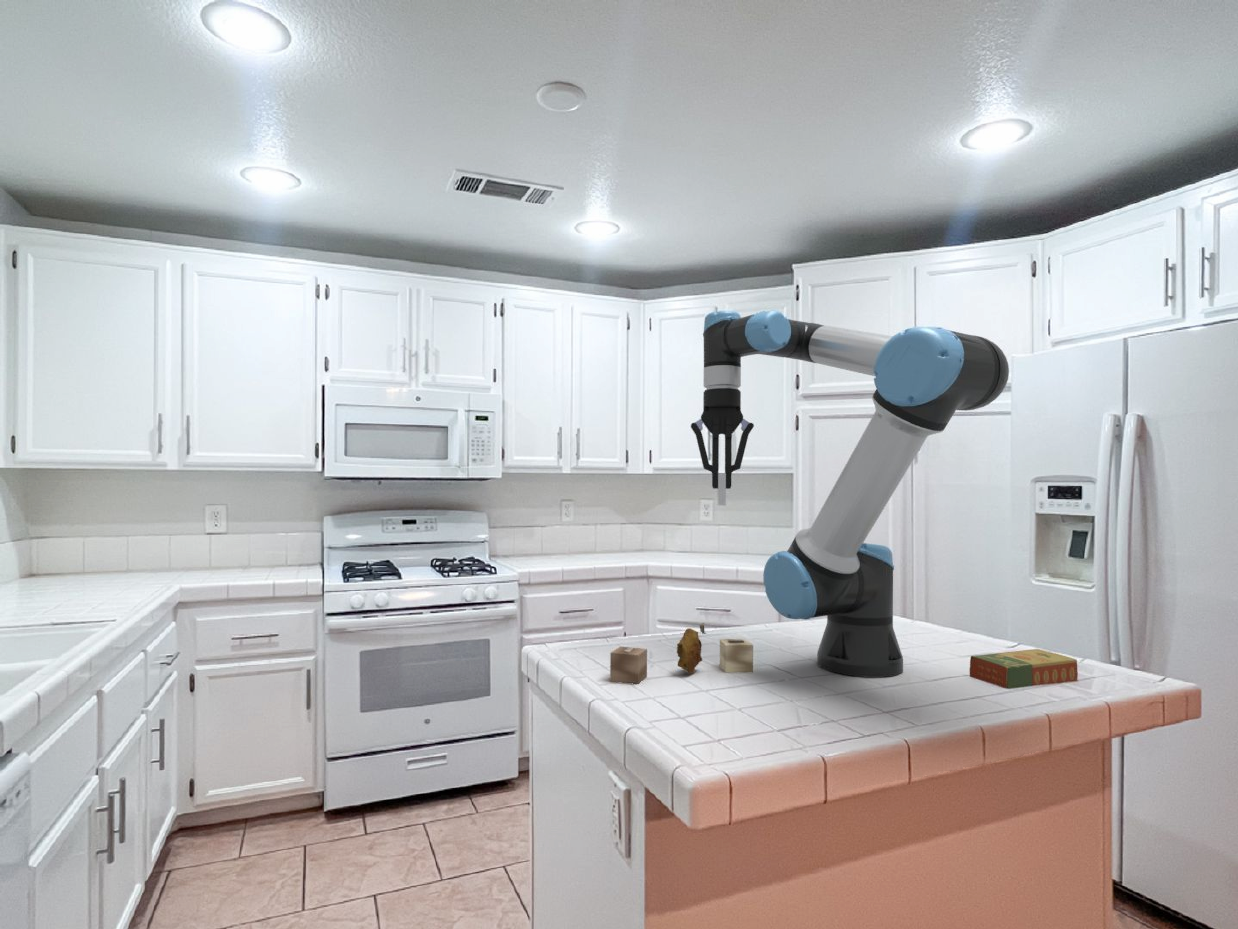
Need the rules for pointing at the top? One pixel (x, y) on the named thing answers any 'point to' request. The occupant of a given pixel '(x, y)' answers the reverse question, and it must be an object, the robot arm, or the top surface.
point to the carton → (1023, 668)
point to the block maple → (736, 656)
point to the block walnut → (628, 665)
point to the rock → (690, 649)
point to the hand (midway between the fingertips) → (721, 505)
